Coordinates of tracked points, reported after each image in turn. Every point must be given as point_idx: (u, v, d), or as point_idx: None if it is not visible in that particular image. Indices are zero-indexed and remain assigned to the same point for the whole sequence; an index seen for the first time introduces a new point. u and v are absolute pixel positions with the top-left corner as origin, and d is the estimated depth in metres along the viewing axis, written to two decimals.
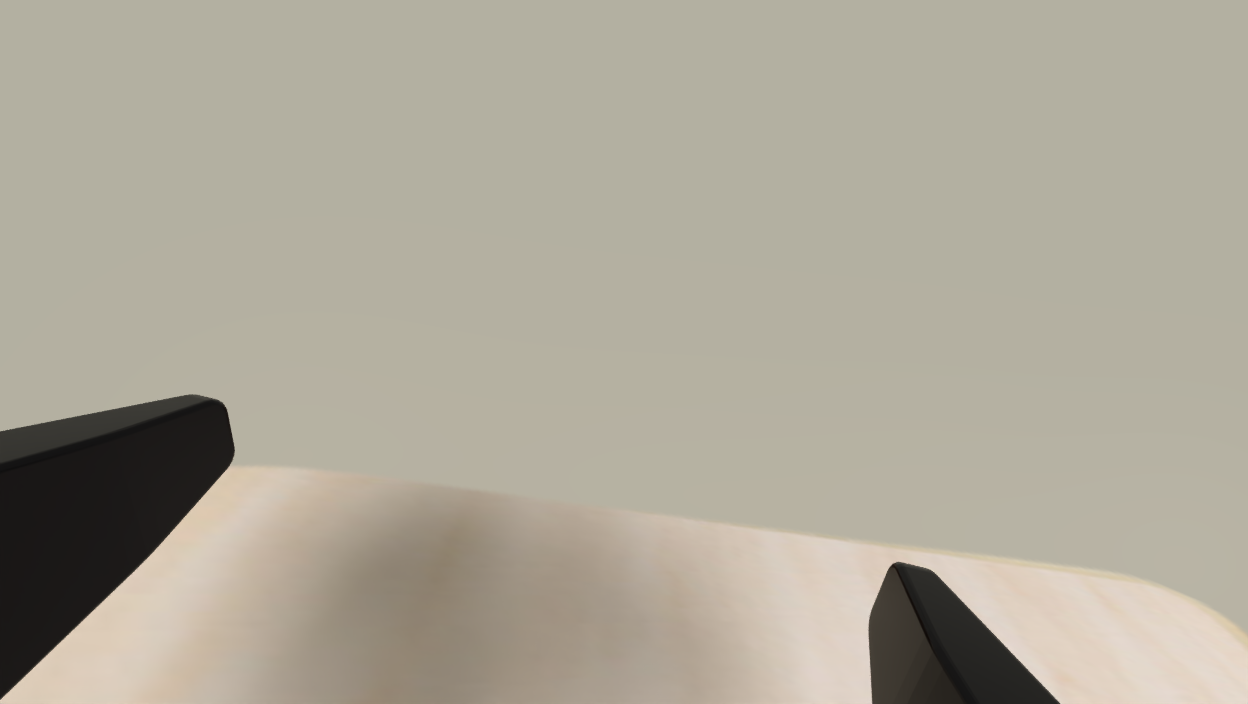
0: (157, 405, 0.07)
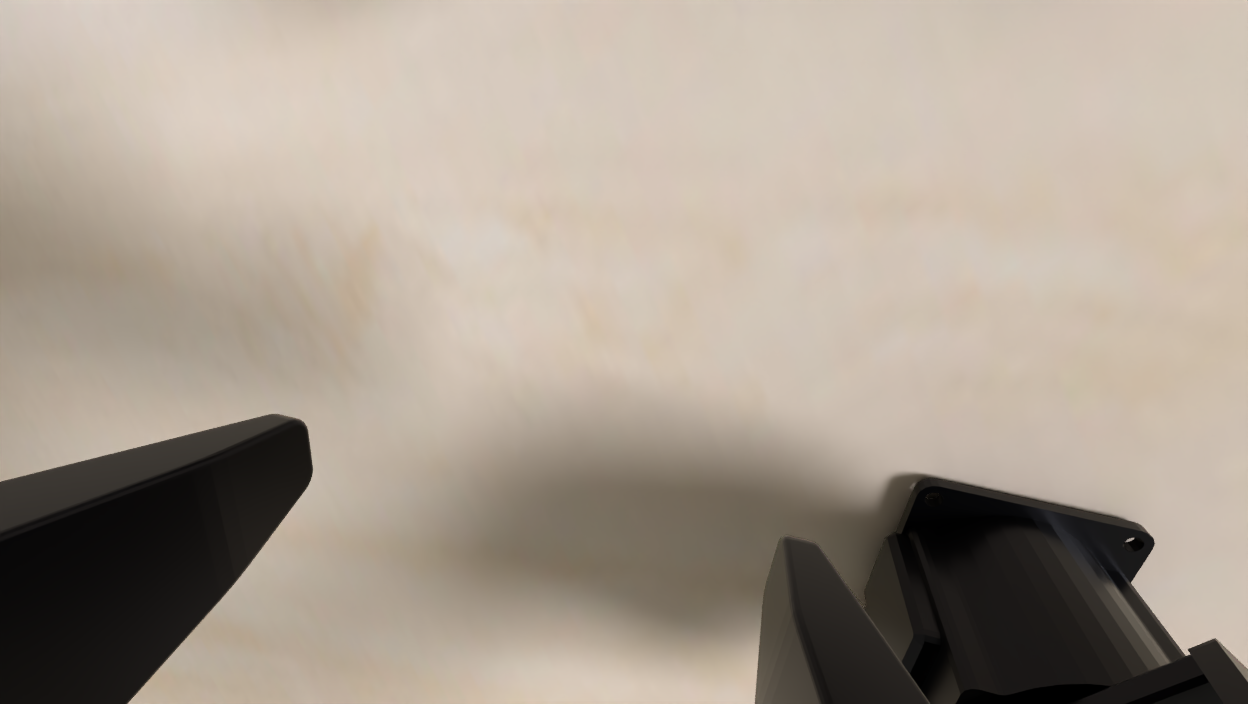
0: (244, 426, 0.07)
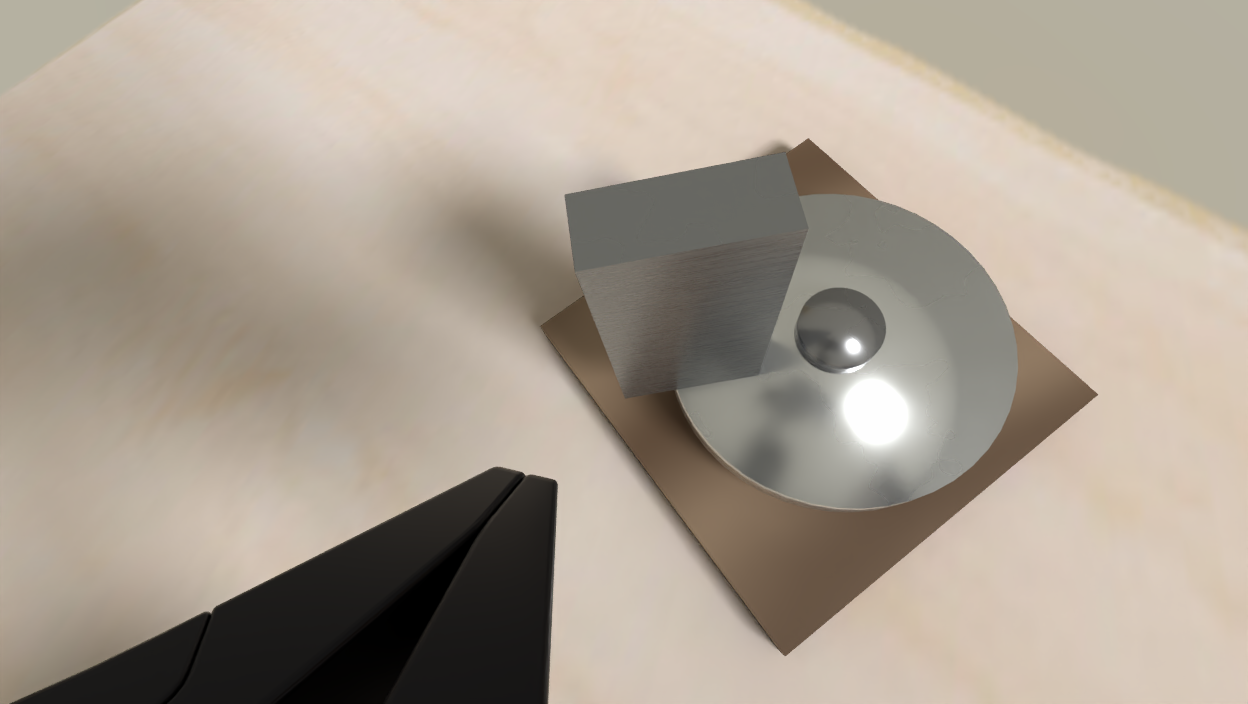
0: (481, 484, 0.07)
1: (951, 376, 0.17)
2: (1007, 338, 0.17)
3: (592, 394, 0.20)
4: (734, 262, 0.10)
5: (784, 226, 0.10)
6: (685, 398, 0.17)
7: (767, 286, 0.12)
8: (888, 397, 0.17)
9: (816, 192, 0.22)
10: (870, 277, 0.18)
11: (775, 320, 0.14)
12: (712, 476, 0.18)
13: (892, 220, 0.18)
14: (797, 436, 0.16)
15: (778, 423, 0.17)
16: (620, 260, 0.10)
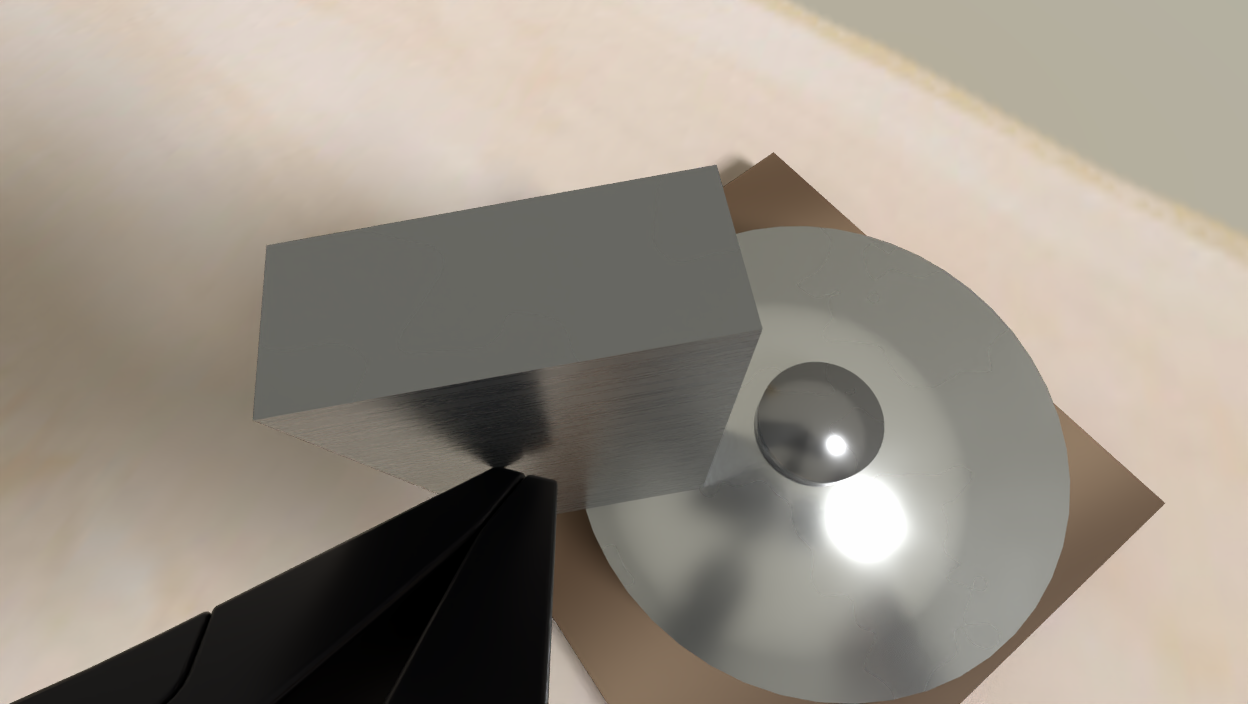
0: (480, 484, 0.07)
1: (977, 492, 0.12)
2: (1052, 435, 0.12)
3: None
4: (617, 385, 0.05)
5: (712, 322, 0.05)
6: (597, 523, 0.12)
7: (693, 410, 0.06)
8: (888, 523, 0.11)
9: (784, 222, 0.17)
10: (858, 344, 0.13)
11: (717, 440, 0.08)
12: (641, 623, 0.13)
13: (886, 263, 0.14)
14: (758, 584, 0.11)
15: (730, 563, 0.11)
16: (355, 394, 0.05)
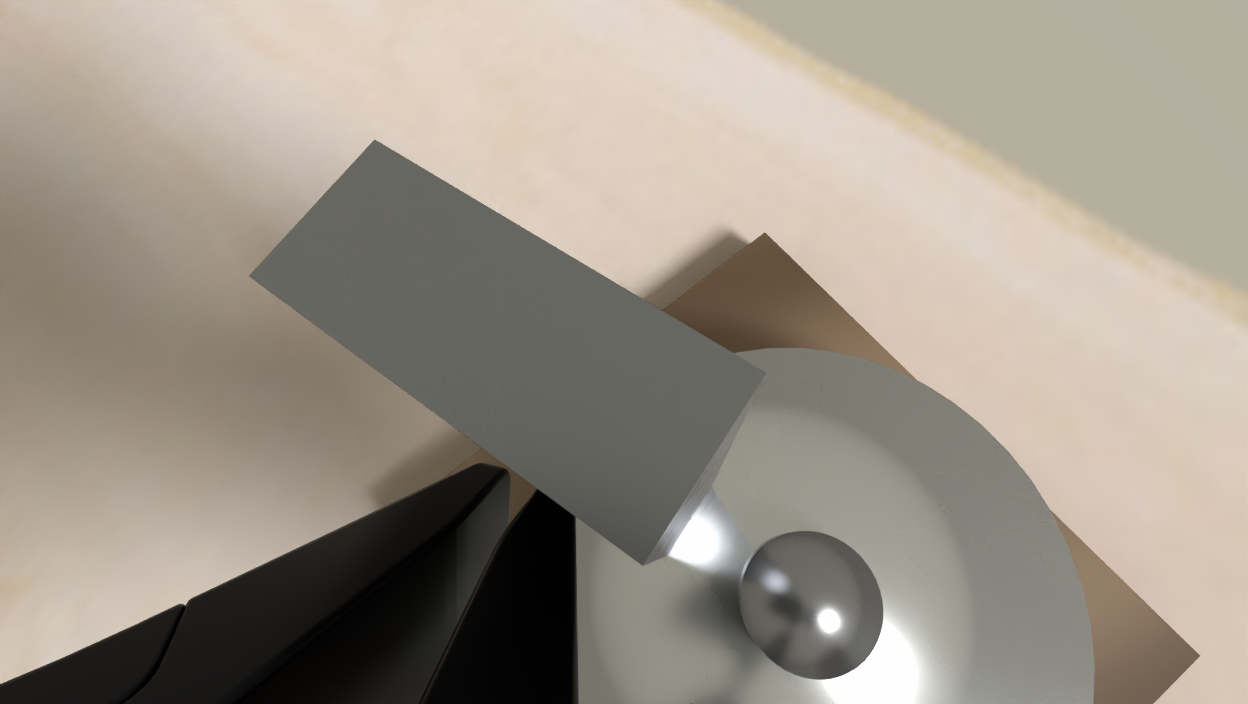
0: (462, 480, 0.07)
1: None
2: None
3: None
4: None
5: (609, 517, 0.04)
6: None
7: None
8: None
9: (776, 316, 0.15)
10: (920, 571, 0.11)
11: (664, 554, 0.08)
12: None
13: (1026, 527, 0.11)
14: (639, 669, 0.11)
15: (634, 632, 0.11)
16: (318, 318, 0.05)
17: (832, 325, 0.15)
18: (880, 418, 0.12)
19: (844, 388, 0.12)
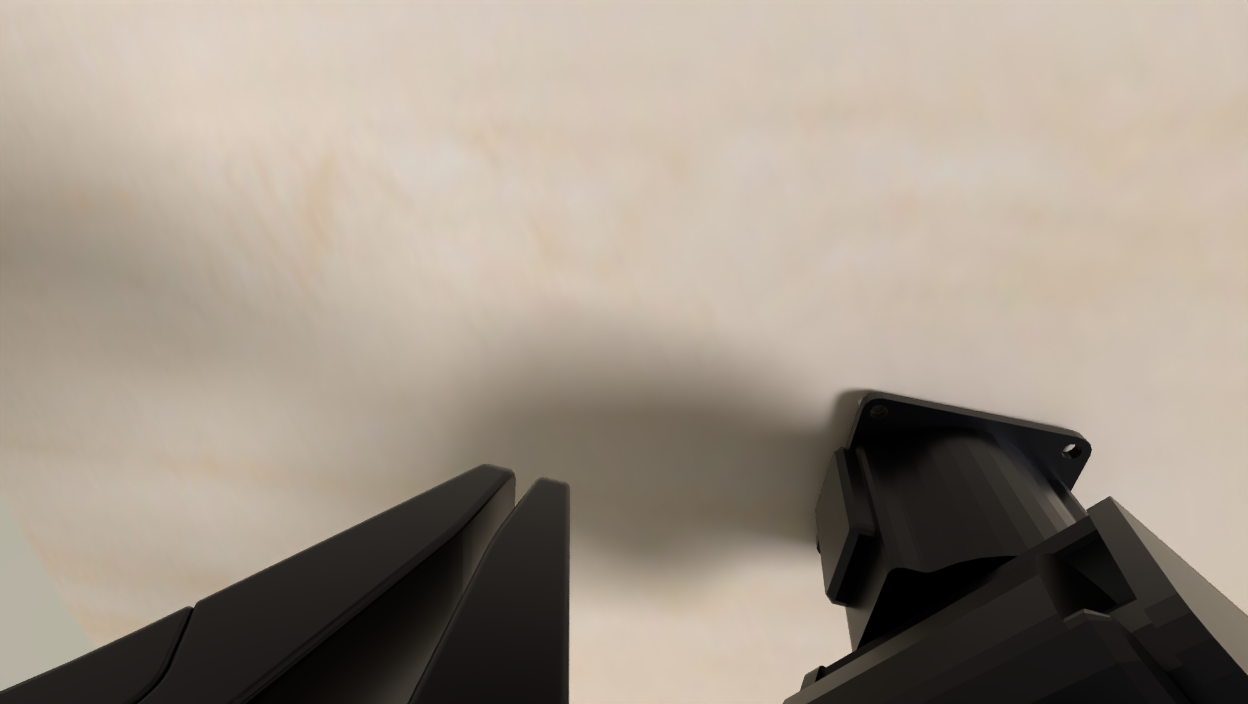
0: (468, 481, 0.07)
1: None
2: None
3: None
4: None
5: None
6: None
7: None
8: None
9: None
10: None
11: None
12: None
13: None
14: None
15: None
16: None
17: None
18: None
19: None
